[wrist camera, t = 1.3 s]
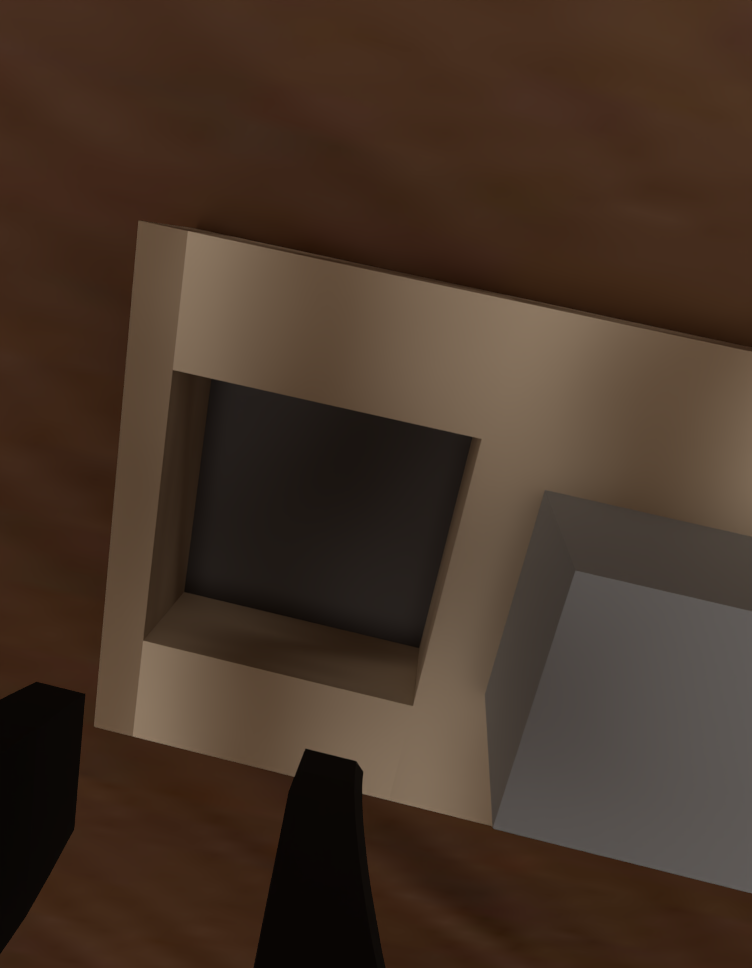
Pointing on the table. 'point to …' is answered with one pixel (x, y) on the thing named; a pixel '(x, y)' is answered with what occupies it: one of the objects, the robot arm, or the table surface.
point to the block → (628, 692)
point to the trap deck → (370, 498)
